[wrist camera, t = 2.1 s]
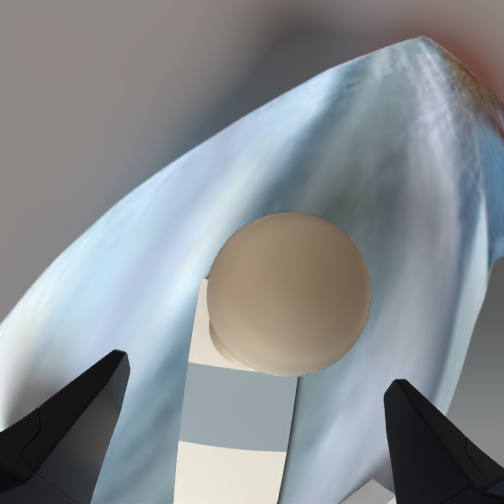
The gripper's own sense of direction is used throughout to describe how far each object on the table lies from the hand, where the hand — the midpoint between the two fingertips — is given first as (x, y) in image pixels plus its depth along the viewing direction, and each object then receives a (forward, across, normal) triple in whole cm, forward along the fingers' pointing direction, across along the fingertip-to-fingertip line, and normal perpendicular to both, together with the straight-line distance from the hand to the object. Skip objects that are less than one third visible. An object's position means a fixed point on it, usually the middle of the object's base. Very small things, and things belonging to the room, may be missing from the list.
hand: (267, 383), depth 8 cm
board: (+3, 0, +12) cm, 12 cm away
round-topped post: (+8, 0, +5) cm, 10 cm away
